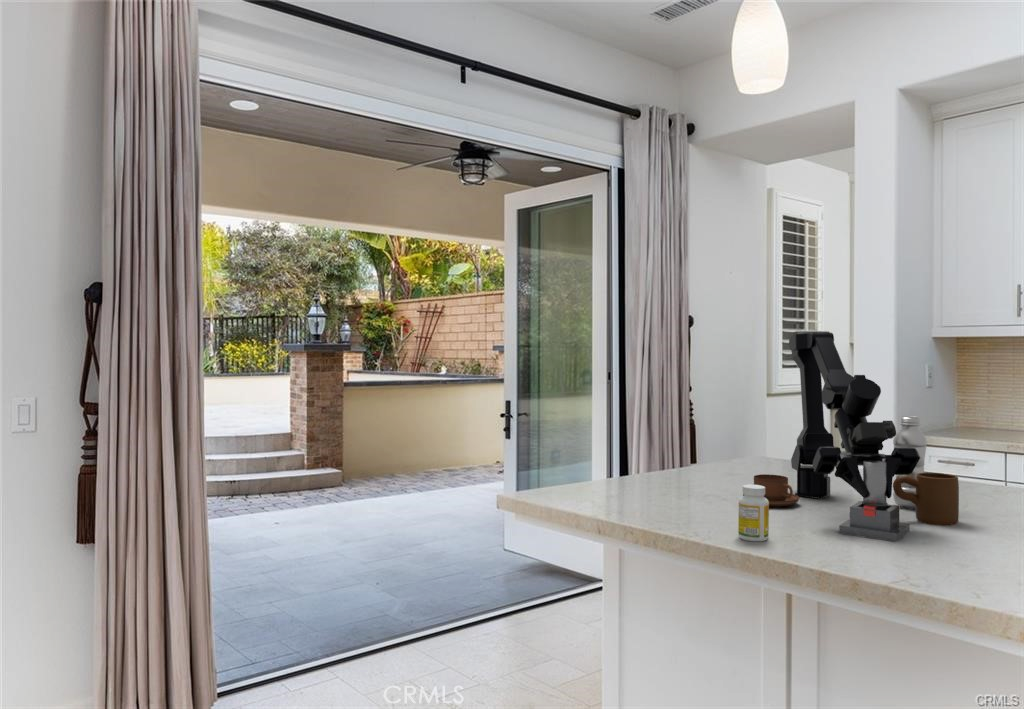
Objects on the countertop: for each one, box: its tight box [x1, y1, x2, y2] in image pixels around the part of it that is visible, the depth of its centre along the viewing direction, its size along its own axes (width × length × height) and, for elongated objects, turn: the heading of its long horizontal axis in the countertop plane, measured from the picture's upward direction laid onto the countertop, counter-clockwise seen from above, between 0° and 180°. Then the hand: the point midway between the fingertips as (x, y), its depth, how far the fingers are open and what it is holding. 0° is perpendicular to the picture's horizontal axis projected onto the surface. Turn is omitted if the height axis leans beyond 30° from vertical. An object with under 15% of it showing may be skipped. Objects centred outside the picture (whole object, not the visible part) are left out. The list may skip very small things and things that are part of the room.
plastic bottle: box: [892, 415, 928, 509], centre depth 164 cm, size 6×7×20 cm
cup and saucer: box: [742, 474, 800, 508], centre depth 169 cm, size 12×12×6 cm
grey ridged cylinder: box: [861, 460, 888, 510], centre depth 142 cm, size 4×4×12 cm
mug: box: [892, 472, 960, 526], centre depth 151 cm, size 12×8×9 cm, turn 77°
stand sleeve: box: [838, 500, 911, 543], centre depth 142 cm, size 10×10×6 cm
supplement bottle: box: [737, 484, 770, 542], centre depth 138 cm, size 5×5×10 cm
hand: (877, 496), depth 141 cm, fingers closed on grey ridged cylinder, 4 cm apart
